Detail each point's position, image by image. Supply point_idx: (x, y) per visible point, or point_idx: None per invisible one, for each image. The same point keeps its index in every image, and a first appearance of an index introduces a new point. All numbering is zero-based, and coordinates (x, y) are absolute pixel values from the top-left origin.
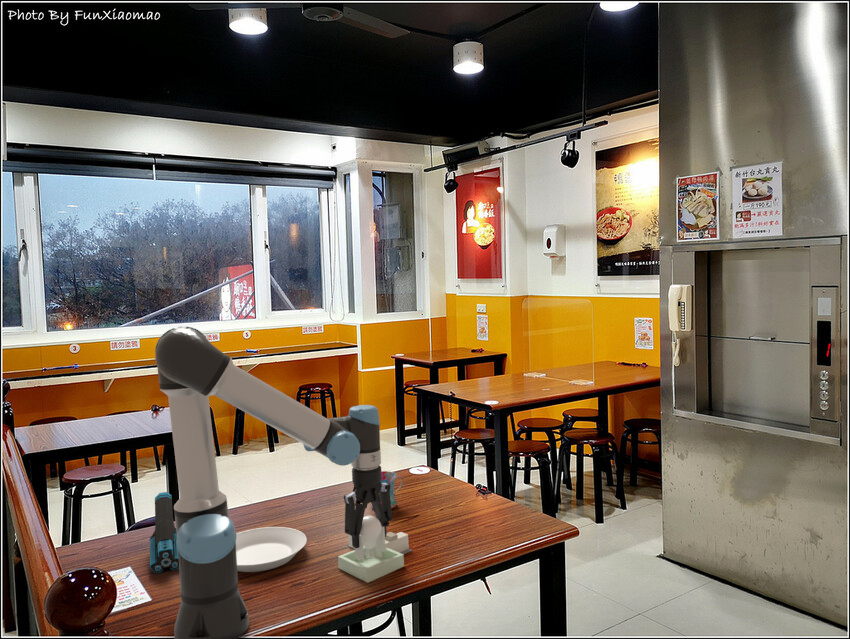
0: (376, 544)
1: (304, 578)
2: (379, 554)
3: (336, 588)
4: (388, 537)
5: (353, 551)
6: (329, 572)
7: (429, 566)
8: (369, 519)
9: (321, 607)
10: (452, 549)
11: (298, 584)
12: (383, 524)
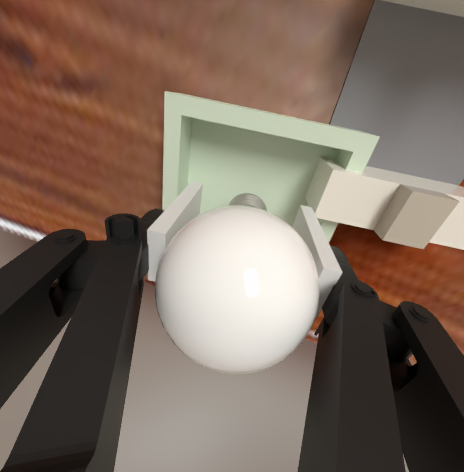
0: (303, 212)
1: (44, 29)
2: (308, 198)
3: (99, 191)
4: (388, 222)
5: (243, 120)
6: (139, 87)
7: (323, 314)
8: (198, 363)
9: (30, 221)
10: (448, 321)
11: (10, 52)
12: (321, 322)
